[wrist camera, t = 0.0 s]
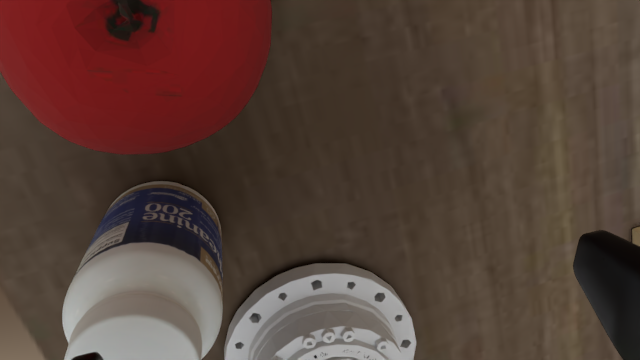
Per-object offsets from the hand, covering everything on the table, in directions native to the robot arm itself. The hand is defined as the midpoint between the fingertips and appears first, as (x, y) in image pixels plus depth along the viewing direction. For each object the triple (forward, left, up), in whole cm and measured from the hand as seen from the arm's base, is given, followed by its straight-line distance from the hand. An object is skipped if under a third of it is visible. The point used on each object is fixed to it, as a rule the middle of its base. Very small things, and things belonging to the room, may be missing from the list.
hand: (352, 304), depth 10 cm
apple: (+1, +6, -15) cm, 17 cm away
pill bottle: (-7, +2, -16) cm, 17 cm away
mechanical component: (-10, -8, -16) cm, 20 cm away
